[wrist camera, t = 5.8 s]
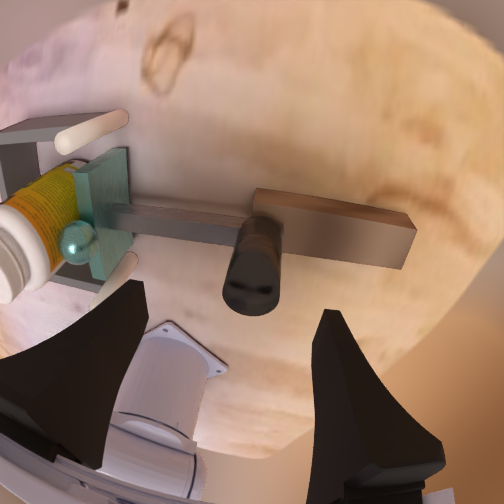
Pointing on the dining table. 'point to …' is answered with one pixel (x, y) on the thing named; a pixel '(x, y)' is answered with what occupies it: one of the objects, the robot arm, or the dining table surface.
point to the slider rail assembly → (169, 234)
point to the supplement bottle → (35, 230)
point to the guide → (337, 228)
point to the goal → (27, 170)
